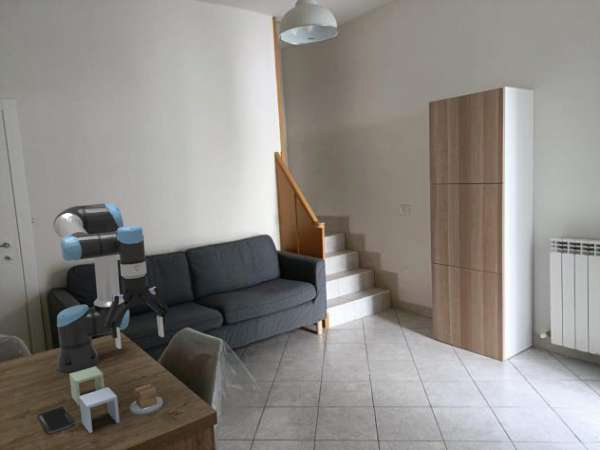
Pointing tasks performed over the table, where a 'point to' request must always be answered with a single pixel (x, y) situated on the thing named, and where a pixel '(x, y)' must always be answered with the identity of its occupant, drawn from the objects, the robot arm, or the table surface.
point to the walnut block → (146, 396)
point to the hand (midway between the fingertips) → (140, 341)
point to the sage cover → (85, 376)
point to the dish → (138, 411)
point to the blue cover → (97, 399)
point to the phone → (56, 420)
